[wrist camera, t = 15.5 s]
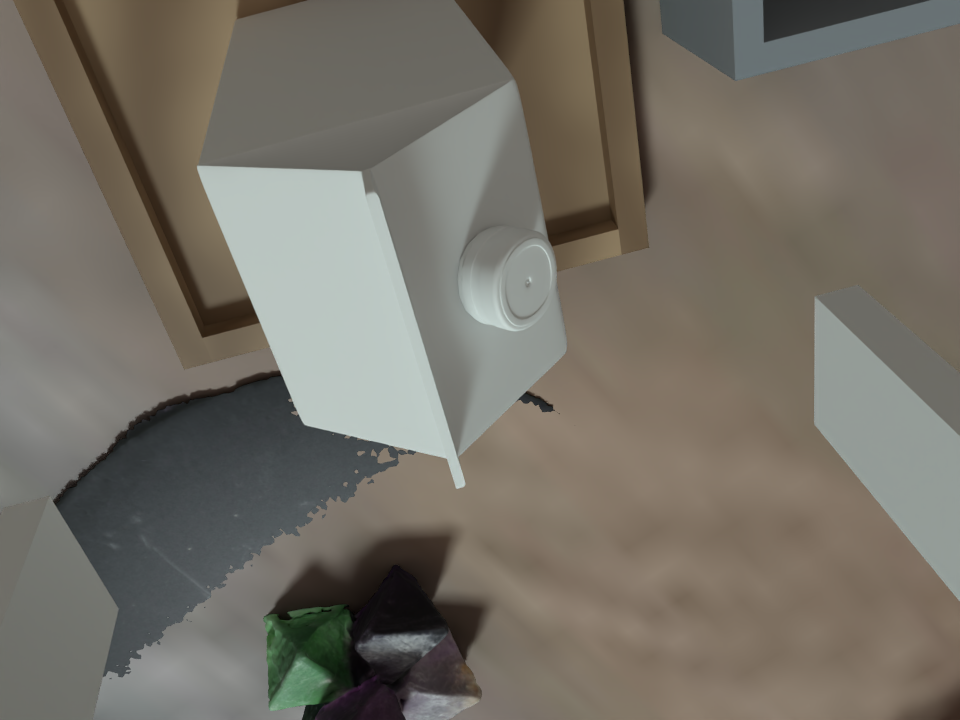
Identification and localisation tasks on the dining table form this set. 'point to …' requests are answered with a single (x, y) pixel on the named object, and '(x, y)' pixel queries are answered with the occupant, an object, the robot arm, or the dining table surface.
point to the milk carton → (385, 218)
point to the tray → (189, 102)
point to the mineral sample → (246, 529)
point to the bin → (794, 29)
